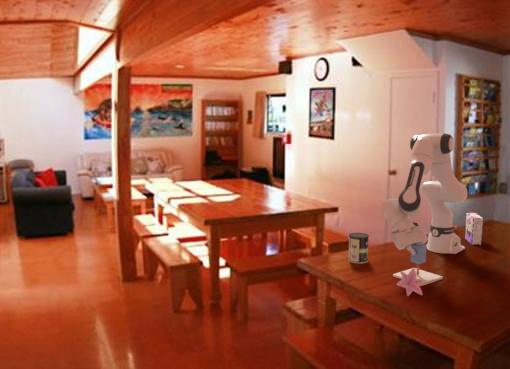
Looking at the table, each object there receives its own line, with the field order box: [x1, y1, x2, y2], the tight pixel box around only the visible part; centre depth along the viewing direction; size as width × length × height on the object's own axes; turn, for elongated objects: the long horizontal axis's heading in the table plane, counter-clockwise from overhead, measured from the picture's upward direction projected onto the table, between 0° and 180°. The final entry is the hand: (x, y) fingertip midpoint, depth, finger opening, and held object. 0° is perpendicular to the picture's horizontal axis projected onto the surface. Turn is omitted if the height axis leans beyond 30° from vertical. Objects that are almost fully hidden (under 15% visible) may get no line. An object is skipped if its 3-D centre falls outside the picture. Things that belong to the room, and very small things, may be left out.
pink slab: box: [392, 263, 443, 287], centre depth 231 cm, size 16×16×7 cm
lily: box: [396, 267, 423, 297], centre depth 213 cm, size 12×12×10 cm
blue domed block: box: [410, 243, 427, 265], centre depth 230 cm, size 5×5×9 cm
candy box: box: [464, 212, 484, 246], centre depth 292 cm, size 14×6×16 cm, turn 172°
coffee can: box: [348, 232, 370, 265], centre depth 257 cm, size 10×10×14 cm
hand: (419, 253), depth 229 cm, fingers closed on blue domed block, 5 cm apart
